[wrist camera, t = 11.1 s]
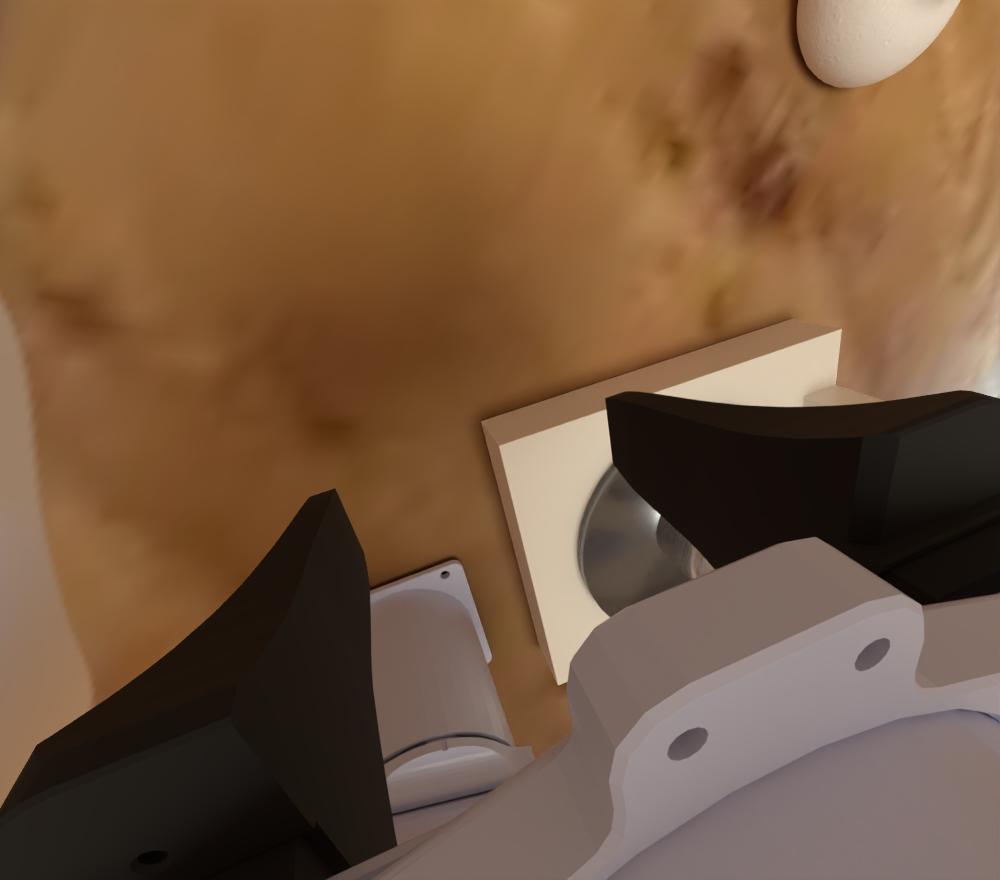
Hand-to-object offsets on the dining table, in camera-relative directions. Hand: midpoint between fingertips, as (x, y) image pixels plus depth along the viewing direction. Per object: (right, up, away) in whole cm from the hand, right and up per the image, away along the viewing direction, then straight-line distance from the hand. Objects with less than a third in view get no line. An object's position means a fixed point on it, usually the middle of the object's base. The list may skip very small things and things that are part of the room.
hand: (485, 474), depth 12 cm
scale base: (+10, -2, +16) cm, 19 cm away
